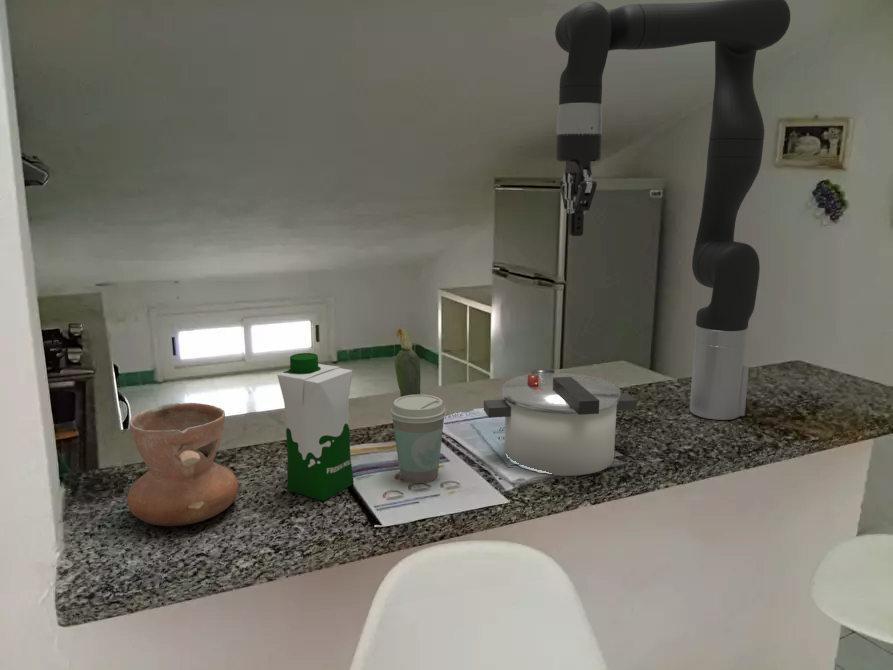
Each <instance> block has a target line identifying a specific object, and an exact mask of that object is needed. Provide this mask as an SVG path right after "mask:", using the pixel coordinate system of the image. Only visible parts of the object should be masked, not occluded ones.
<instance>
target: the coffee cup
mask: <svg viewBox="0 0 893 670" xmlns="http://www.w3.org/2000/svg"><path fill="white" fill-rule="evenodd" d="M389 414H390V417H391V419H392V425H393V431H394V433H393V434H394V440H395V445H396V447H395V448H396V455H397V460H398V467H399V475H400V478H401V479H402V480H403V481H405V482H408V483H413V484H415V483H416V484H421V483H422V484H424V483H428V482H432V481H434V480H435V479H437V478H438V476H439V466H440V458H441V448H442V440H443V439H442V438H443V429H444V421H445V417H446V416H447V411H446V407H445V405H444V401H443V400H442V399H441V398H440V397H438V396H435V395H430V394H420V395H407V396H403V397H398V398H396V399H395V400H394V401H393V404H392V406H391V408H390V413H389Z"/></svg>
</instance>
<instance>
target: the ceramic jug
mask: <svg viewBox="0 0 893 670" xmlns="http://www.w3.org/2000/svg"><path fill="white" fill-rule="evenodd" d="M225 420H226V412H225V410H224V409H222V408H221V407H217V406H214V405H210V404H207V403H206V404H205V403H201V402H200V403H199V402H182V403H178V402H176V403H169V404H163V405H159V406H155V407H150V408H146V409H144V410H143V411H139V412H138V413H136V414H135V415H133V417H131V418H130V419H129V423H128V424H129V425H128V426H129V429H130V433H131V438H132V439H133V442H134V445H135V447H136V449H137V451H138V453H139V455H140V458H141V459H142V460H143V462H144V463H145V465H146V467H147V468H148V471H146V472H145V473H144V474H142V475H141V476H140V477H139V478H138V479H137V480H135V481H134V483H133V484H132V486H131V487H130V488H129V490H128V493H127V498H126V503H127V504H126V505H127V506H128V509H129V511H130V513H132V515H133V516H134V517H135V518H137V519H138V520H140V521H142V522H145V523H146V524H149V525H154V526H159V527H179V526H180V527H181V526H187V525H192V524H193V525H194V524H197V523H200V522H204V521H206V520H208V519H211V518H213V517H215V516H217V515H219V514H221V513H222V512H224V511H225V510H226V509H227V508H229V507H230V506H231V505H233V503H234V501H235V500H236V498H237V495H238V492H239V480H238V478H237V476H236V475H235V473H233V472H232V471H231V470H230V469H228V468H227V467H225V466H222V465H220V464H218V463H216V462H215V461H214V460H215V457H216V456H217V455H216V454H217V452H218V449H219V446H220V443H221V439H222V436H223V433H224V428H225V422H226V421H225Z"/></svg>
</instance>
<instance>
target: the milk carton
mask: <svg viewBox="0 0 893 670" xmlns="http://www.w3.org/2000/svg"><path fill="white" fill-rule="evenodd" d="M289 363H290V364H289V367H290V368H289V369H288V370H285V371H283V372H281V373H278V374H277V379H278V383H279V387H280V390H281V395H282V399H283V404H284V417H285V434H286V438H285V439H286V452H287V454H286V455H287V471H286V472H287V477H286V478H287V479H286V480H287V482H286V484H287V485H286V486H287V487H286V490H287V491H289V492H293V493H295V494H299V495H301V496H305V497H308V498H312V499H314V500H318V501H320V502H325V501H326V500H328V499H330V498H331V497H333V496H335V495H336V494H338V493H340V492H341V491H345V489H347V488H349V487H351V486H352V484H353V483H354V484H355V482H354V473H353V465H352V459H351V440H350V437H351V435H350V413H349V412H350V408H349V407H350V406H349V403H350V402H349V398H350V391H351V384H352V376H353V372H354V371H353V369H346V368H341V367H340V366H335V365H328V364H322V363H319V357H318V354H316V353H312V352H311V353H310V352H302V353H301V352H300V353H295V354H292V355H290V357H289ZM354 484H353V485H354Z"/></svg>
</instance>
